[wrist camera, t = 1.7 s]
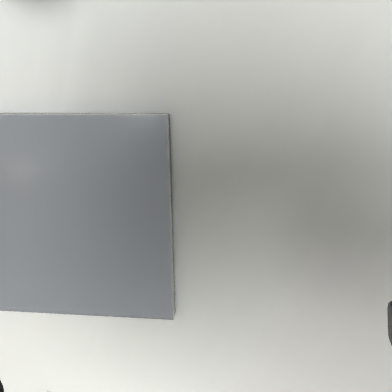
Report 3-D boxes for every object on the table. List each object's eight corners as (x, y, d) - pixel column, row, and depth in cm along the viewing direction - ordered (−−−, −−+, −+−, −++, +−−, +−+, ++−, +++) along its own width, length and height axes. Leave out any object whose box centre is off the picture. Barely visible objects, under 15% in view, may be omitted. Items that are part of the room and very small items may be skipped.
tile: (168, 113, 19) (166, 115, 18) (174, 313, 23) (173, 319, 22) (-51, 113, 20) (-59, 114, 19) (-11, 304, 24) (-17, 309, 23)
